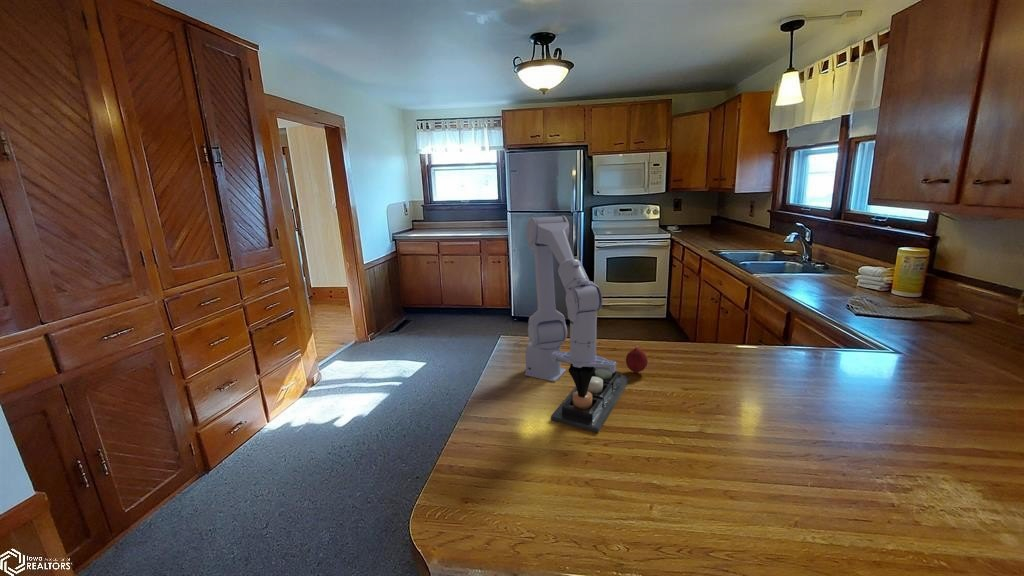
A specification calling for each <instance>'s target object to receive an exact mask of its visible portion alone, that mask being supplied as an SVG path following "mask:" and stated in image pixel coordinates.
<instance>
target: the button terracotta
mask: <svg viewBox="0 0 1024 576" xmlns="http://www.w3.org/2000/svg"><path fill="white" fill-rule="evenodd" d="M573 406H574V407H575V408H579V409H583V410H588V409H590V408H591V407H592V394H591V393H590V392H588V391H587V395H586V396H585V397H584V398H583V397H579V396H578V392H577V391H576V392H574V393H573Z"/></svg>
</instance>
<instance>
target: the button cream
mask: <svg viewBox="0 0 1024 576" xmlns="http://www.w3.org/2000/svg"><path fill="white" fill-rule="evenodd" d="M588 392H590V393H594V394H600V393H602V392H603V380H602V379H601V378H599V377H592V378H591V380H590V383H589V386H588Z"/></svg>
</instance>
